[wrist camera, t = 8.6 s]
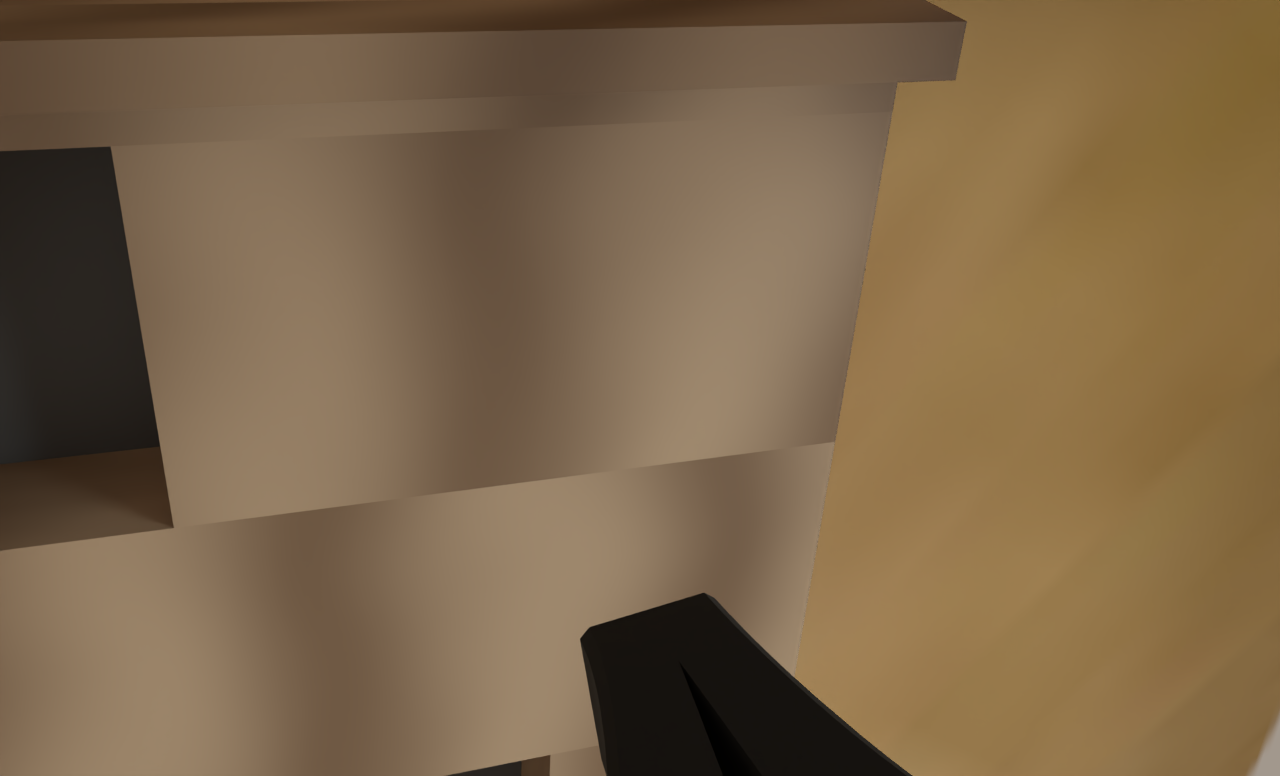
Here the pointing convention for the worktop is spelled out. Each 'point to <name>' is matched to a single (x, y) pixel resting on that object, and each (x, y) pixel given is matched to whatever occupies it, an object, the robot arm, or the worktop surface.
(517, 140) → the trap box
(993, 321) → the worktop surface
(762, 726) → the robot arm
